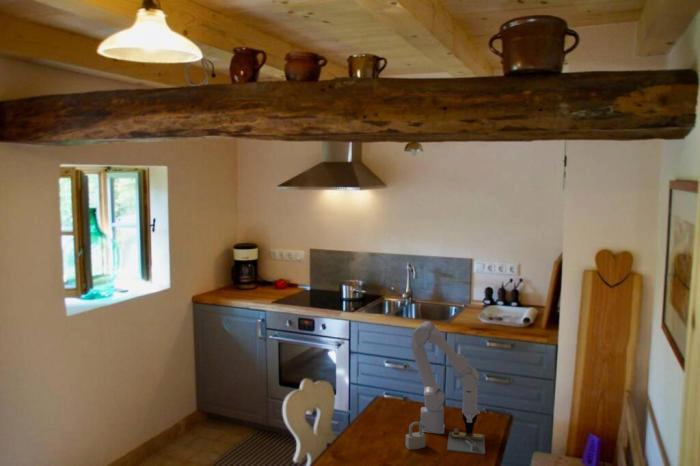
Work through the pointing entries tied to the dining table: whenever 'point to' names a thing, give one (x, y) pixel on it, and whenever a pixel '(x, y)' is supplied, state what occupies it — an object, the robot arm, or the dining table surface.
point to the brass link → (467, 436)
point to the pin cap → (456, 431)
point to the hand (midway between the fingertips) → (469, 432)
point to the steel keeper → (471, 444)
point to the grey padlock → (415, 438)
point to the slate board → (465, 445)
